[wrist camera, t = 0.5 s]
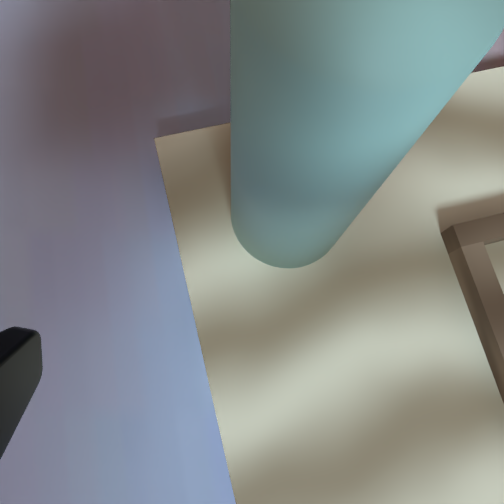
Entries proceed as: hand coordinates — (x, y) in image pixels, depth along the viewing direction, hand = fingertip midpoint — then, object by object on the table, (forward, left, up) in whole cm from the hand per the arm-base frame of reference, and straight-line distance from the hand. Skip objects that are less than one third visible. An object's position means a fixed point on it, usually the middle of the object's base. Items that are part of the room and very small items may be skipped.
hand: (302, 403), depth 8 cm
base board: (+2, -10, -13) cm, 16 cm away
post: (+7, -3, -11) cm, 14 cm away
